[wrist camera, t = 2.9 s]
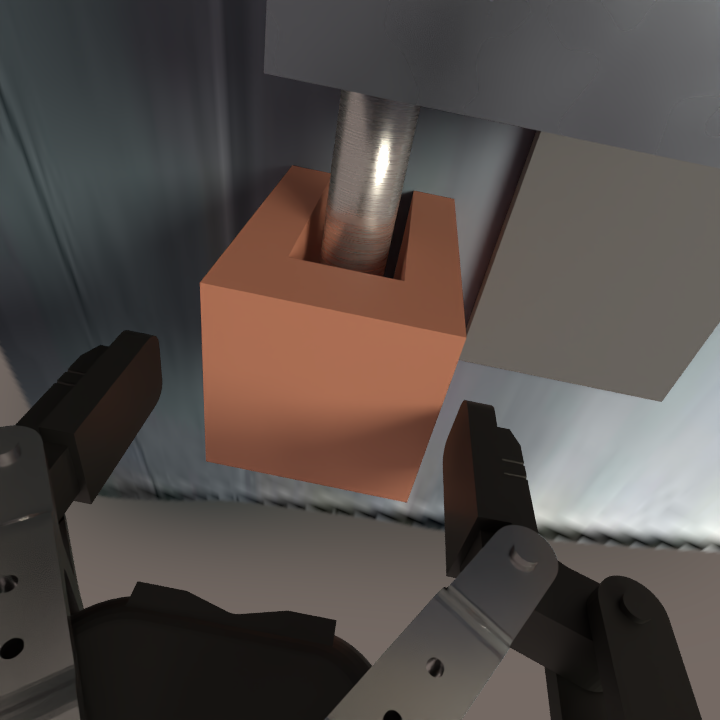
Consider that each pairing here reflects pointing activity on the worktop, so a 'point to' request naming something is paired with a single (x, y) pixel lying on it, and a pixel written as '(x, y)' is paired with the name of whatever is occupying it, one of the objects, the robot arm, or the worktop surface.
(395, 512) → the worktop surface
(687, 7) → the vise block
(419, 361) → the notched orange block
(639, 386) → the mat
